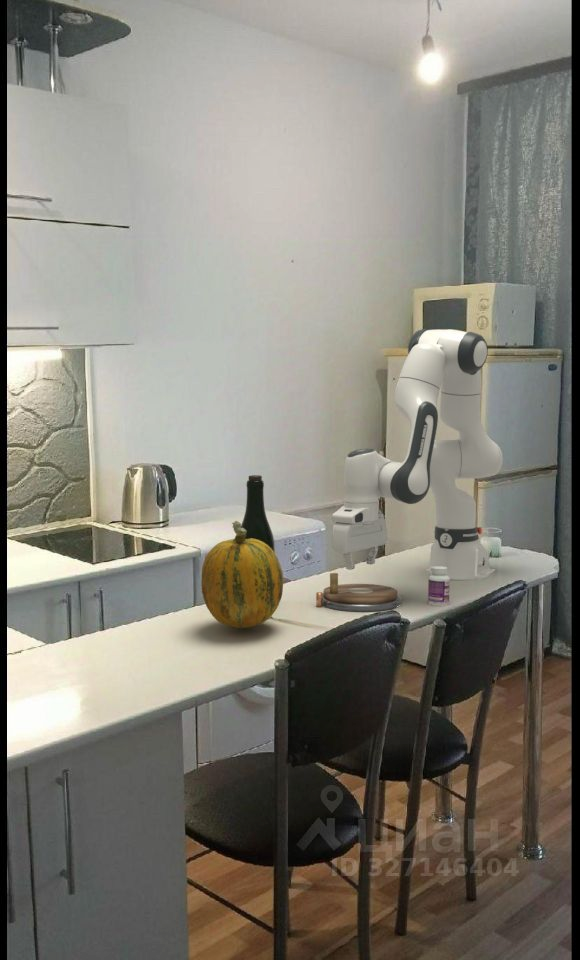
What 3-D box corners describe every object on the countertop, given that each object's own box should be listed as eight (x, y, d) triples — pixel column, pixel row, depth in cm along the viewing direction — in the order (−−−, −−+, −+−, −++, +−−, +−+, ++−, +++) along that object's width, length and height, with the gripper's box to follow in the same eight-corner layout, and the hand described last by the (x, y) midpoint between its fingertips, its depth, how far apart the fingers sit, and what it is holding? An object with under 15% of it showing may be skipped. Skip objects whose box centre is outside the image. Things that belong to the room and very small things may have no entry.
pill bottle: (449, 607, 233) (450, 569, 232) (427, 606, 234) (428, 568, 233) (449, 603, 238) (449, 565, 237) (428, 602, 239) (428, 565, 238)
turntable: (311, 592, 243) (311, 568, 243) (375, 587, 250) (376, 563, 250) (343, 607, 226) (343, 580, 225) (411, 600, 233) (411, 575, 232)
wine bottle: (255, 611, 229) (255, 477, 226) (226, 604, 236) (225, 475, 233) (284, 604, 237) (284, 475, 234) (255, 598, 244) (255, 473, 241)
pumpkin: (226, 638, 202) (225, 524, 200) (187, 621, 218) (186, 515, 216) (298, 627, 212) (298, 518, 210) (256, 611, 228) (256, 510, 226)
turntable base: (349, 591, 253) (349, 578, 253) (416, 601, 240) (416, 587, 240) (302, 604, 236) (302, 590, 236) (372, 616, 223) (372, 601, 223)
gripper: (372, 508, 246) (372, 559, 248) (327, 515, 230) (327, 570, 231) (393, 509, 243) (392, 562, 244) (349, 517, 226) (348, 573, 228)
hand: (360, 566), depth 237 cm, fingers open, 8 cm apart
